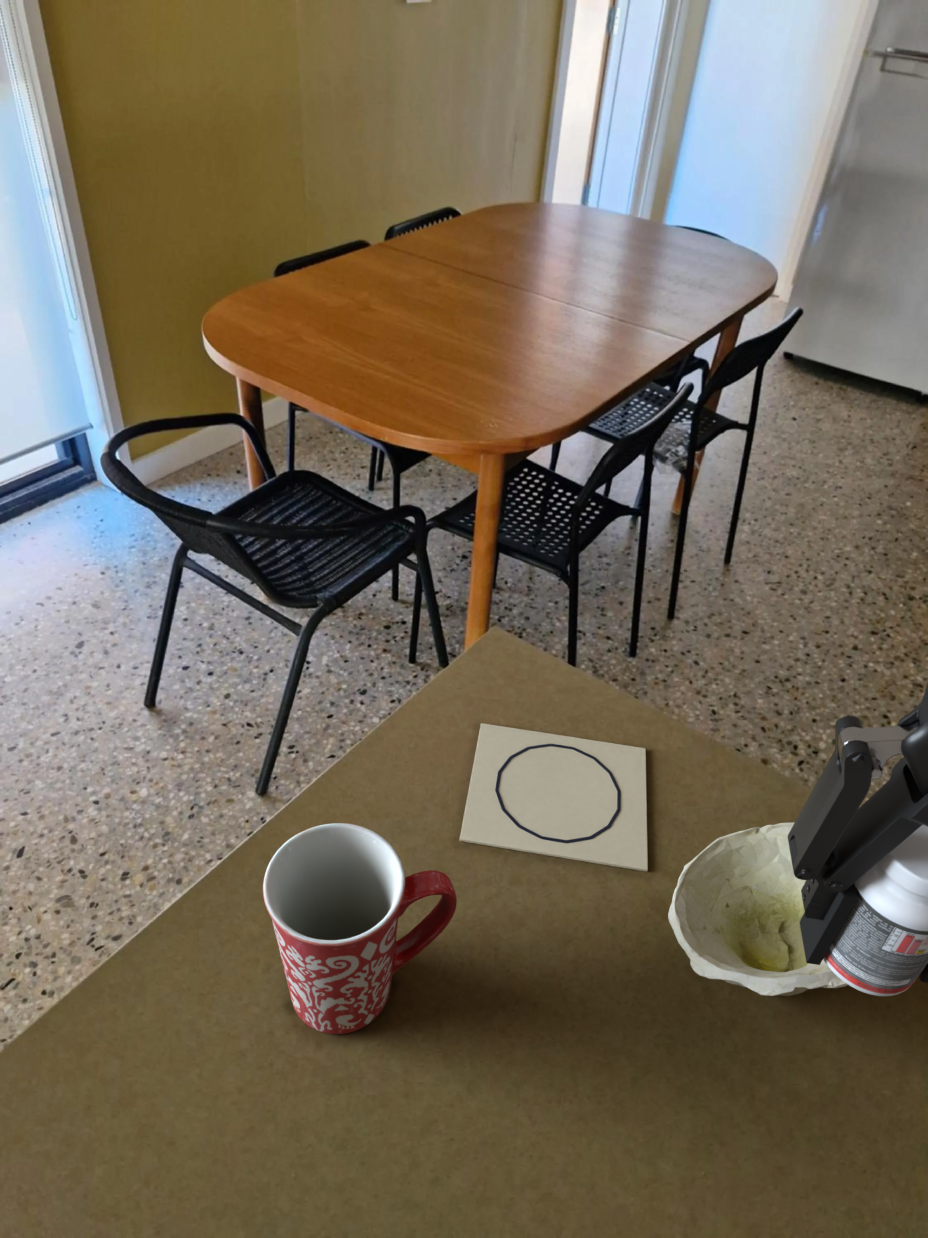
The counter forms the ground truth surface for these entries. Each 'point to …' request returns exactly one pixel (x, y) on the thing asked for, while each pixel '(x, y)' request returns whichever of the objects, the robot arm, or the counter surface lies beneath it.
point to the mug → (346, 921)
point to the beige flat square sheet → (558, 797)
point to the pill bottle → (887, 923)
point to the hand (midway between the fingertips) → (865, 952)
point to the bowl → (747, 915)
